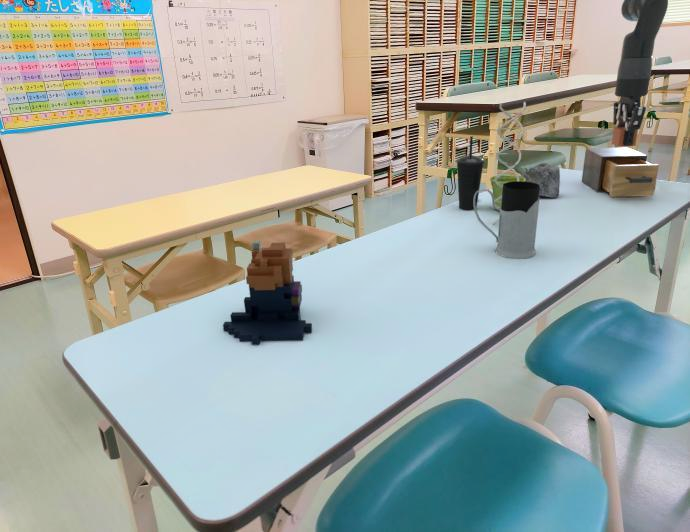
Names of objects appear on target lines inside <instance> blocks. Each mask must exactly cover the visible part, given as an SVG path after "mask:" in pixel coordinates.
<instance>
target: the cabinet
mask: <svg viewBox="0 0 690 532" xmlns="http://www.w3.org/2000/svg"><path fill="white" fill-rule="evenodd" d="M607 159H641V160H643V161H646V162H647V160H648V155H647V154H645V153H643V152H640V151H637V150H635V149H632V148H631V147H629V146H621V147H593V148H592V147H587V148H585V152H584V161H583V168H582V175H581V183H583V184H584V185H586V186H587V187H588V188H590V189H591V190H593V191H594V192H596V193H609V192H608V191H606V190H605V189H603V188H602V187H601V182H602V175H603V169H604V162H605V160H607Z"/></svg>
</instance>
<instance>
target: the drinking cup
mask: <svg viewBox="0 0 690 532" xmlns="http://www.w3.org/2000/svg"><path fill="white" fill-rule="evenodd" d="M473 141H474V137H473V136H471V135H470V137H469V154H468V155H467V154H466V155H463V156H461V157H459V158H457V159H456V160H455V162H456V169H457V190H458V208H459V209H460V210H462V209H463V210H462V211H473V209H474V206H473V199H474V195H475V193H476V192H477V191H478V190H480V189H481V181H482V175H483V170H484V169H483V168H484V163H485V159H484V158H482V157H480V156H479V155H474V154H473ZM479 193H480V191H479V192H478V193H477V194H476V198H475V206H476V209H477V207H478V202H479V201H478V200H479Z"/></svg>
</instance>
